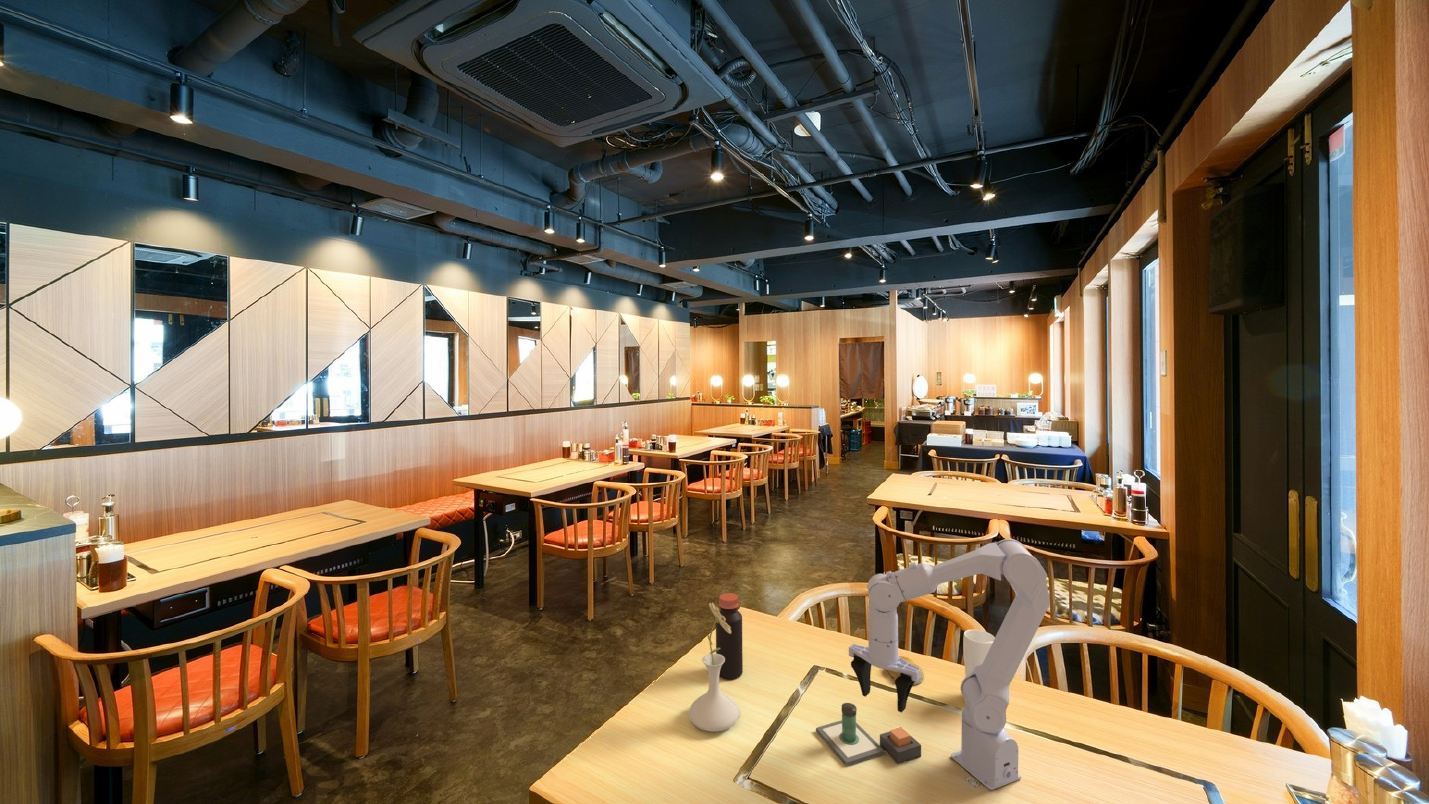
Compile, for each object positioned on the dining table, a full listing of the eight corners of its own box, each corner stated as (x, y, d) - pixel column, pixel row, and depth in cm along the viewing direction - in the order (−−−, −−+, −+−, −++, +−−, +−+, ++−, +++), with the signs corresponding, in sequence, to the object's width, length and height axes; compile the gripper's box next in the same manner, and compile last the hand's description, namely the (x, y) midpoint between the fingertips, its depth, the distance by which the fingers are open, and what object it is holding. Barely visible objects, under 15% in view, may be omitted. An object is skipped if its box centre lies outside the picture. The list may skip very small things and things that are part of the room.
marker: (859, 740, 108) (859, 709, 107) (847, 744, 107) (847, 713, 106) (850, 731, 110) (850, 701, 110) (838, 735, 109) (838, 704, 109)
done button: (910, 744, 105) (910, 735, 105) (899, 748, 104) (899, 739, 104) (900, 735, 107) (900, 727, 107) (889, 739, 106) (889, 730, 106)
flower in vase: (741, 737, 110) (740, 621, 109) (687, 738, 110) (685, 622, 109) (738, 699, 123) (737, 595, 122) (690, 700, 123) (688, 596, 122)
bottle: (712, 678, 132) (712, 600, 131) (720, 664, 139) (719, 590, 138) (739, 682, 130) (738, 603, 129) (745, 668, 137) (744, 593, 136)
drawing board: (884, 754, 105) (884, 749, 105) (846, 766, 102) (846, 762, 102) (851, 721, 115) (851, 716, 115) (815, 731, 112) (815, 727, 112)
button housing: (921, 756, 104) (921, 745, 104) (898, 764, 102) (898, 752, 102) (901, 738, 109) (901, 727, 109) (879, 745, 107) (879, 734, 107)
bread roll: (903, 689, 127) (903, 673, 127) (882, 669, 136) (882, 654, 136) (932, 683, 129) (932, 667, 129) (909, 664, 138) (909, 649, 138)
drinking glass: (987, 690, 126) (988, 629, 125) (1000, 708, 119) (1001, 643, 118) (958, 689, 126) (959, 628, 126) (969, 706, 120) (969, 642, 119)
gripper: (927, 640, 103) (927, 707, 104) (860, 618, 114) (860, 679, 114) (912, 654, 98) (912, 724, 99) (843, 630, 108) (843, 694, 109)
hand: (883, 701), depth 106 cm, fingers open, 7 cm apart
